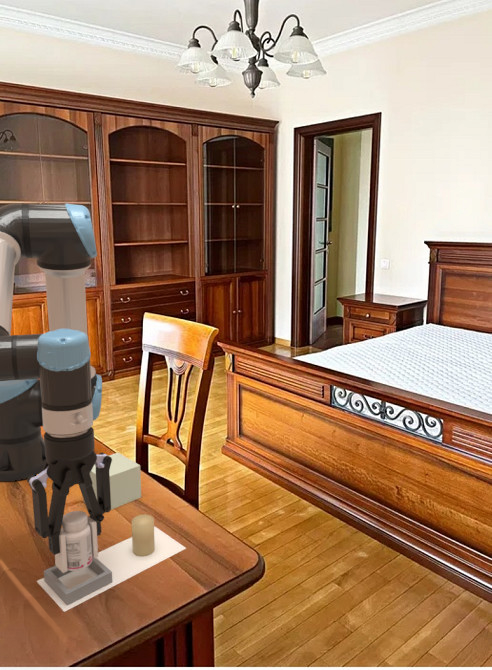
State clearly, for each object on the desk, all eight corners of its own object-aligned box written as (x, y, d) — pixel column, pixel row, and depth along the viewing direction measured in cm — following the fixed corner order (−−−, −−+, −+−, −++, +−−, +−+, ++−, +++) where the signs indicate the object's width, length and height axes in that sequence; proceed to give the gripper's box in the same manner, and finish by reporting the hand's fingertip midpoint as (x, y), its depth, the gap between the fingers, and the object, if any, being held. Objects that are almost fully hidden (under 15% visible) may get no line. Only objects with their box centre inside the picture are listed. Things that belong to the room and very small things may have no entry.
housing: (83, 502, 119) (81, 464, 117) (119, 488, 125) (118, 452, 123) (104, 518, 113) (102, 478, 111) (141, 503, 119) (140, 465, 117)
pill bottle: (81, 551, 93) (78, 506, 92) (98, 561, 90) (95, 515, 89) (56, 564, 90) (53, 517, 88) (73, 575, 87) (70, 528, 85)
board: (37, 588, 91) (33, 549, 90) (155, 533, 108) (154, 498, 106) (64, 620, 84) (61, 577, 83) (186, 555, 101) (185, 518, 99)
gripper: (22, 452, 77) (34, 597, 81) (130, 421, 89) (135, 548, 94) (1, 437, 82) (14, 574, 87) (106, 409, 94) (112, 531, 99)
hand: (77, 560), depth 90 cm, fingers closed on pill bottle, 5 cm apart
